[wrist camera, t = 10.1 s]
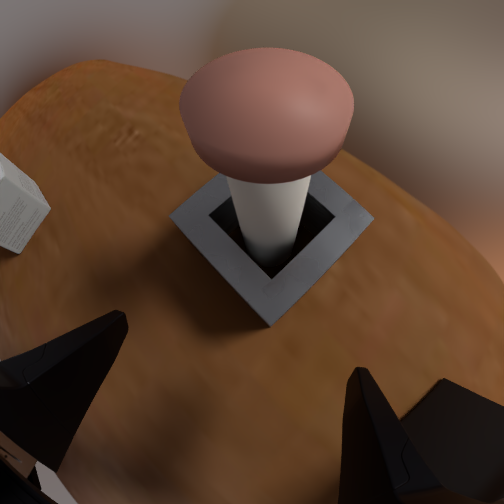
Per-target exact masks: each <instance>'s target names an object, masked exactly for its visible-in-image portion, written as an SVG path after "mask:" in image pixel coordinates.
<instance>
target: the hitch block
mask: <svg viewBox="0 0 504 504" xmlns="http://www.w3.org/2000/svg"><path fill="white" fill-rule="evenodd" d="M169 217H170V218H171V219H172V221H173V222H174V223H175V224H176V226H177V227H178V228H179V229H180V230H181V232H182V233H183V234H184V235H185V236H186V238H187V239H188V240H189V241H190V242H191V244H192V245H193V246H194V247H195V248H196V249H197V250H198V251H199V252H200V254H201V255H202V256H203V257H204V258H205V259H206V260H207V261H208V262H209V263H210V265H211V266H212V267H213V268H214V269H215V270H216V271H217V272H218V273H219V274H220V275H221V277H222V278H223V279H224V280H225V281H226V282H227V283H228V284H229V285H230V286H231V287H232V288H233V289H234V290H235V292H236V293H237V294H238V295H239V296H240V297H241V298H242V299H243V300H244V301H245V302H246V303H247V304H248V305H249V306H250V307H251V308H252V309H253V310H254V311H255V313H256V314H257V315H258V316H259V317H260V318H261V319H262V320H263V321H264V322H265V323H266V324H267V325H268V326H269V327H271V326H272V325H273V324H274V323H275V322H276V321H277V320H278V319H280V318H281V317H282V316H283V315H284V314H285V313H286V312H287V311H288V310H289V309H290V308H291V307H292V306H293V305H294V304H295V303H296V302H297V301H298V300H299V299H300V298H301V297H302V296H303V295H304V294H305V293H306V292H307V291H308V290H309V289H310V288H311V287H312V286H313V285H314V284H315V283H316V282H317V281H318V280H319V279H320V278H321V277H322V276H323V275H324V274H325V272H326V271H327V270H328V269H329V268H330V267H331V266H332V265H333V264H334V263H335V262H336V261H337V260H338V259H339V258H340V257H341V255H342V254H343V253H344V252H345V251H346V250H347V249H348V248H349V247H350V246H351V245H352V244H353V242H354V241H355V240H356V239H357V238H358V237H359V236H360V234H361V233H362V232H363V231H364V230H365V229H366V228H367V226H368V225H369V224H370V223H371V222H372V221H373V219H374V217H373V216H372V215H370V214H369V213H368V212H367V211H366V210H365V209H364V208H363V207H362V206H361V205H360V204H359V203H357V202H356V201H355V200H354V199H353V198H352V197H351V196H350V195H349V194H347V193H346V192H345V191H344V190H343V189H342V188H341V187H339V186H338V185H337V184H336V183H335V182H334V181H332V180H331V179H330V178H329V177H328V176H326V175H325V174H324V173H323V172H322V171H318V172H316V173H315V174H313V175H311V178H310V183H309V187H308V191H307V195H306V199H305V203H304V207H303V211H302V215H301V219H300V224H301V225H302V226H304V227H305V228H306V229H307V230H308V231H309V232H310V233H311V234H312V235H313V236H314V237H315V238H314V239H313V240H312V241H311V242H310V243H309V244H308V245H307V246H306V247H305V248H304V249H303V250H302V251H301V252H300V253H299V254H298V255H297V256H296V257H295V258H294V259H293V260H292V261H291V262H290V263H289V264H287V265H286V266H285V267H284V268H283V269H282V270H281V271H280V272H279V273H278V274H277V275H276V276H275V277H274V278H273V279H271V278H270V277H269V276H268V275H267V274H266V273H265V272H264V271H263V270H262V269H261V268H260V267H259V266H258V265H257V264H256V263H255V262H254V261H253V260H252V259H251V258H250V257H249V256H248V255H247V254H246V253H245V252H244V251H243V250H242V249H241V248H240V247H239V246H238V245H237V244H236V243H235V242H234V241H233V240H232V239H231V238H230V237H229V235H230V234H231V233H232V232H233V231H234V230H235V229H236V228H238V227H239V226H240V225H239V221H238V218H237V214H236V210H235V207H234V203H233V199H232V196H231V192H230V189H229V185H228V181H227V178H226V176H225V175H223V174H221V173H219V174H218V175H216V176H215V177H214V178H213V179H211V180H210V181H209V182H208V183H206V184H205V185H204V186H203V187H202V188H200V189H199V190H198V191H197V192H196V193H195V194H193V195H192V196H191V197H190V198H189V199H187V200H186V201H185V202H184V203H183V204H182V205H181V206H179V207H178V208H177V209H176V210H175V211H174V212H173V213H171V214H170V215H169Z"/></svg>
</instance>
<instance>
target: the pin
mask: <svg viewBox="0 0 504 504" xmlns="http://www.w3.org/2000/svg"><path fill="white" fill-rule="evenodd" d="M179 106H180V113H181V117H182V119H183V122H184V124H185V127H186V130H187V132H188V135H189V137H190V140H191V142H192V145H193V147H194V149H195V151H196V153H197V154H198V155H199V157H200V158H201V159H202V160H203V161H204V162H205V163H206V164H207V165H208V166H210V167H211V168H213V169H214V170H216V171H217V172H219V173H221V174H223V175H225V176H226V178H227V181H228V185H229V189H230V192H231V196H232V199H233V203H234V207H235V210H236V214H237V218H238V221H239V225H240V228H241V232H242V236H243V239H244V243H245V247H246V250H247V253H248V255H249V257H250V258H251V259H252V260H253V261H254V262H255V263H257V264H259V265H261V266H264V267H275V266H278V265H280V264H282V263H284V262H285V261H286V260H287V259H288V258H289V257H290V255H291V253H292V250H293V246H294V242H295V239H296V235H297V231H298V227H299V223H300V219H301V215H302V211H303V207H304V203H305V199H306V195H307V191H308V187H309V183H310V178H311V175H313V174H315V173H316V172H318V171H320V170H322V169H323V168H324V167H326V166H327V165H328V164H329V163H331V161H332V160H333V159H334V158H335V157H336V156H337V154H338V153H339V151H340V150H341V147H342V145H343V143H344V139H345V137H346V133H347V130H348V128H349V124H350V121H351V118H352V115H353V110H354V99H353V94H352V91H351V89H350V87H349V85H348V84H347V82H346V81H345V80H344V78H343V77H342V76H341V75H340V74H339V73H338V72H337V71H336V70H335V69H333V68H332V67H331V66H329V65H328V64H326V63H325V62H323V61H321V60H319V59H317V58H315V57H313V56H310V55H307V54H304V53H301V52H297V51H294V50H288V49H281V48H253V49H246V50H241V51H236V52H233V53H230V54H226V55H224V56H222V57H219V58H217V59H215V60H213V61H211V62H209V63H208V64H206V65H205V66H203V67H202V68H200V69H199V70H198V71H197V72H196V73H195V74H194V75H193V76H192V77H191V78H190V79H189V80H188V82H187V83H186V85H185V86H184V88H183V90H182V93H181V96H180V102H179Z"/></svg>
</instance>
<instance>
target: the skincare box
mask: <svg viewBox="0 0 504 504" xmlns="http://www.w3.org/2000/svg"><path fill="white" fill-rule="evenodd" d="M50 210H51V208H50V206H49V205H48V203H47V201H46V200H45V198H44V196H43V195H42V193H41V191H40V190H39V188H38V186H37V185H36V183H35V182H34V181H33V180H32V179H31V178H29V177H28V176H27V175H26V174H25V173H23V172H22V171H21V170H20V169H19V168H17V167H16V166H15V165H14V164H13V163H11V162H10V161H9V160H8V159H7V158H5V157H4V156H3V155H2V154H1V153H0V246H2V247H4V248H6V249H8V250H10V251H12V252H15V253H17V254H20V253H21V252H22V250H23V249H24V247H25V246H26V244H27V243H28V241H29V240H30V238H31V237H32V235H33V234H34V232H35V231H36V229H37V228H38V227H39V225H40V224H41V222H42V221H43V220H44V218H45V217H46V215H47V214H48V213H49V211H50Z"/></svg>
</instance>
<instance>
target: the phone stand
mask: <svg viewBox="0 0 504 504" xmlns="http://www.w3.org/2000/svg"><path fill="white" fill-rule="evenodd" d="M401 424H402V425H403V427H404V429H405V431H406V432H407V434H408V436H409V437H410V439H411V441H412V442H413V444H414V446H415V447H416V449H417V450H418V452H419V454H420V455H421V456H422V458H423V459H424V461H425V462H426V463H427V465H428V466H429V467H430V469H431V470H432V472H433V473H434V474H435V476H436V477H437V478H438V480H439V481H440V482H441V483H442V484H443V485H444V486H445V487H446V488H447V489H449V490H451V491H453V492H455V493H458V494H461V495H463V496H466V497H469V498H472V499H475V500H478V501H481V502H485V503H494V502H496V501H498V500H500V499H502V498H504V406H501V405H499V404H497V403H495V402H493V401H491V400H489V399H487V398H484V397H482V396H480V395H478V394H476V393H474V392H472V391H470V390H468V389H466V388H464V387H462V386H460V385H458V384H456V383H453V382H451V381H449V380H447V379H445V378H443V379H442V380H441V382H440V383H439V384H438V385H437V386H436V387H435V388H434V389H433V390H432V391H431V393H430V394H429V395H428V396H427V397H426V398H425V399H424V400H423V401H422V402H421V403H420V404H419V405H418V406H417V407H416V408H415V409H414V410H413V411H412V412H411V413H410V414H409V415H408V416H406V417H405V418H404V419H403V420H402V421H401Z"/></svg>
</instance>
